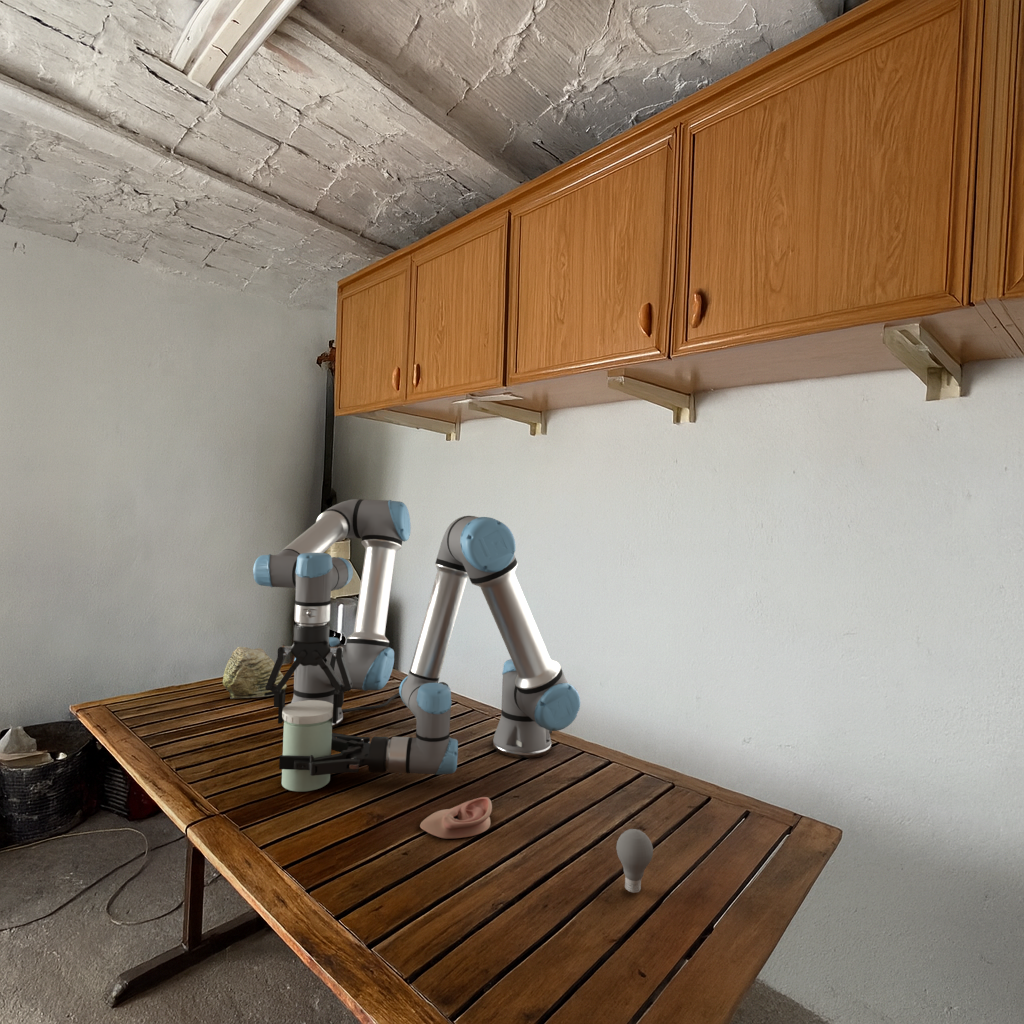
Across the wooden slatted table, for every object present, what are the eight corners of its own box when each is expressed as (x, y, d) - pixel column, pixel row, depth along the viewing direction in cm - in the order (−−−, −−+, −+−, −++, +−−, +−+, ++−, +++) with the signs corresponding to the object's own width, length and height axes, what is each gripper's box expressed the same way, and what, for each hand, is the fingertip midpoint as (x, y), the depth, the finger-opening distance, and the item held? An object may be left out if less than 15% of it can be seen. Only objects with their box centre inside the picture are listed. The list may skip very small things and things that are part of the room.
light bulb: (610, 879, 108) (613, 822, 108) (644, 879, 109) (647, 822, 109) (619, 902, 102) (622, 840, 102) (655, 901, 103) (658, 840, 103)
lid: (281, 726, 133) (281, 718, 133) (282, 708, 144) (282, 701, 144) (335, 722, 137) (335, 714, 137) (333, 705, 148) (333, 698, 148)
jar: (332, 788, 138) (335, 717, 138) (282, 794, 134) (285, 722, 134) (327, 768, 147) (330, 703, 147) (280, 774, 144) (283, 706, 143)
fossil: (218, 695, 195) (220, 647, 195) (278, 685, 208) (279, 640, 207) (228, 703, 189) (230, 653, 188) (289, 692, 201) (290, 645, 201)
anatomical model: (414, 813, 120) (434, 787, 131) (414, 834, 120) (433, 806, 131) (482, 823, 117) (496, 795, 129) (481, 844, 118) (495, 815, 129)
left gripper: (252, 625, 135) (248, 727, 135) (364, 627, 138) (360, 727, 138) (261, 618, 142) (258, 715, 143) (367, 620, 145) (363, 715, 146)
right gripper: (378, 795, 130) (269, 792, 129) (395, 751, 153) (302, 748, 152) (380, 759, 130) (271, 756, 129) (396, 720, 153) (303, 717, 152)
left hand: (308, 721), depth 141 cm, fingers closed on lid, 11 cm apart
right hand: (288, 751), depth 141 cm, fingers closed on jar, 10 cm apart
